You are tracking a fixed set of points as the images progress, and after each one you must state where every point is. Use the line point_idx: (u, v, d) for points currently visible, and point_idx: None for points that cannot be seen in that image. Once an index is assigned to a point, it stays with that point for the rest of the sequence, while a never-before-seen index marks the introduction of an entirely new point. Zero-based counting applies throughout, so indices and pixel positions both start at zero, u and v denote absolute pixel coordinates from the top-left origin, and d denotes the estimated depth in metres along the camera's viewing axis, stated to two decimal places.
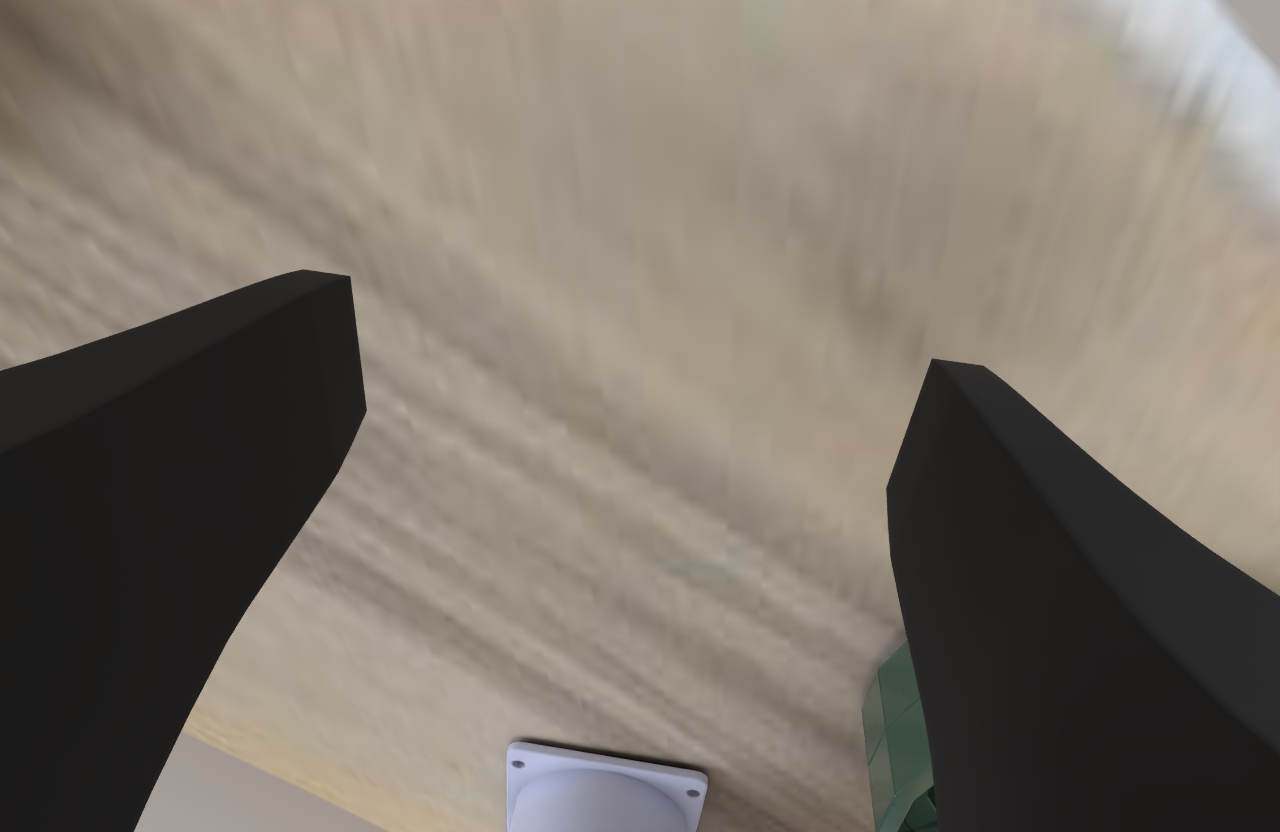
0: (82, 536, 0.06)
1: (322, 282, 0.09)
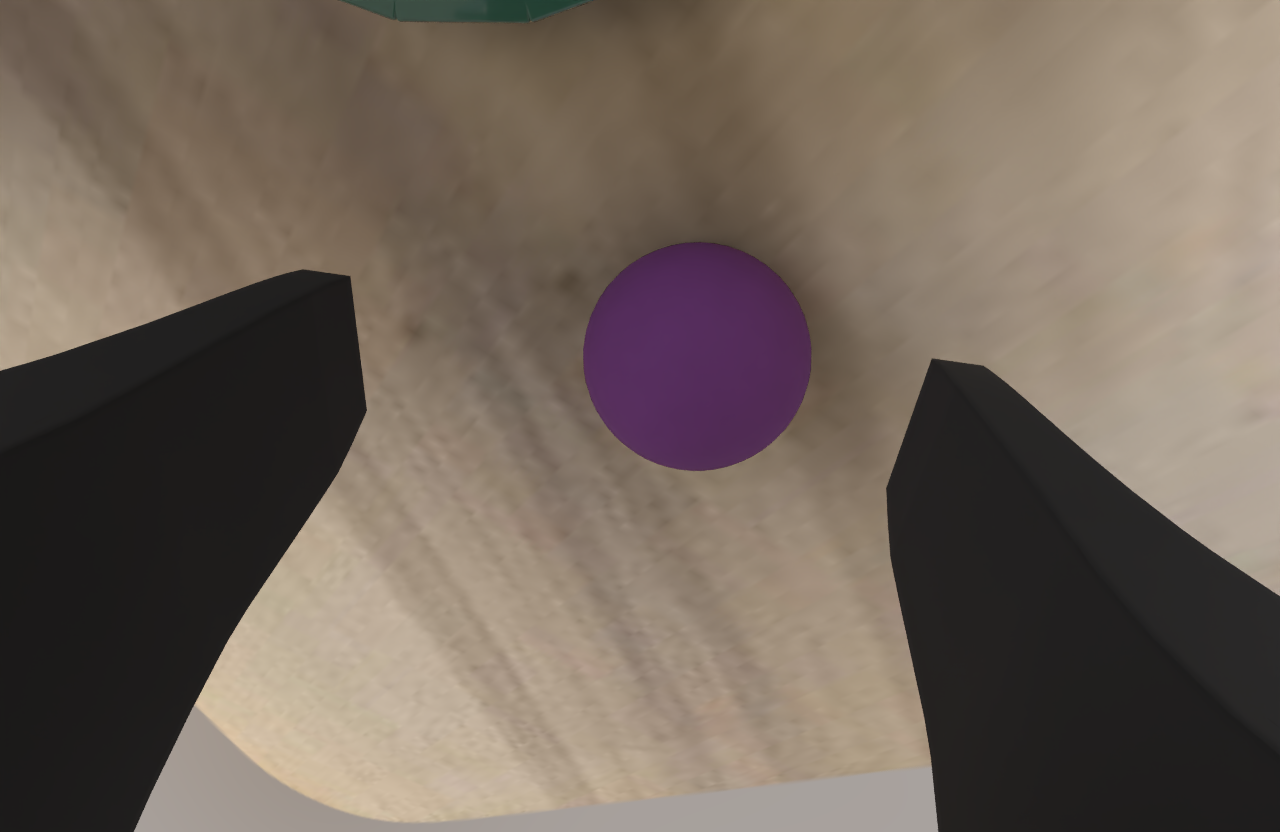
0: (83, 536, 0.06)
1: (322, 282, 0.09)
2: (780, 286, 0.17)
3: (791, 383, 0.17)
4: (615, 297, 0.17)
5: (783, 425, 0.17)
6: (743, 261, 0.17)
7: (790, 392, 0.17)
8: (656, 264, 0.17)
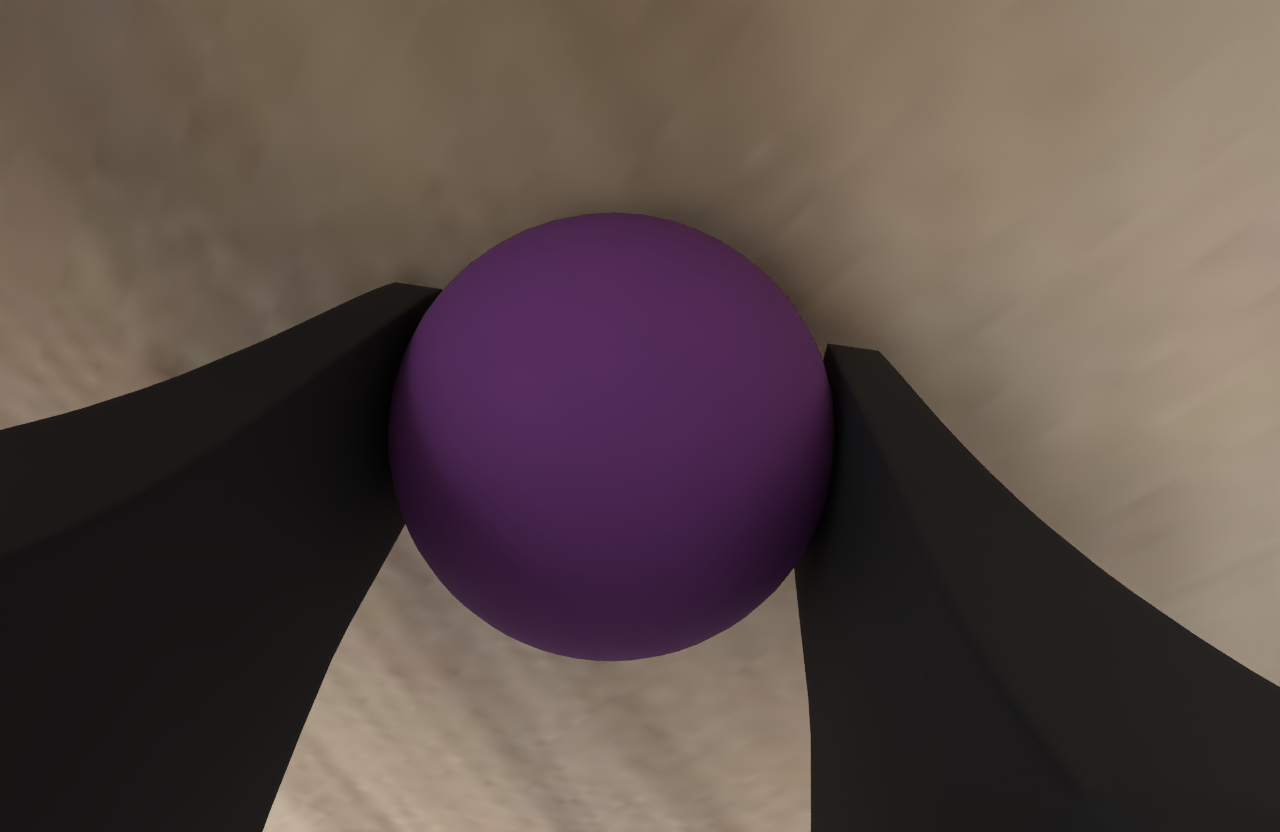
0: (228, 559, 0.06)
1: (419, 296, 0.09)
2: (773, 300, 0.08)
3: (796, 505, 0.08)
4: (432, 323, 0.08)
5: (780, 580, 0.09)
6: (696, 248, 0.08)
7: (795, 523, 0.08)
8: (515, 254, 0.08)
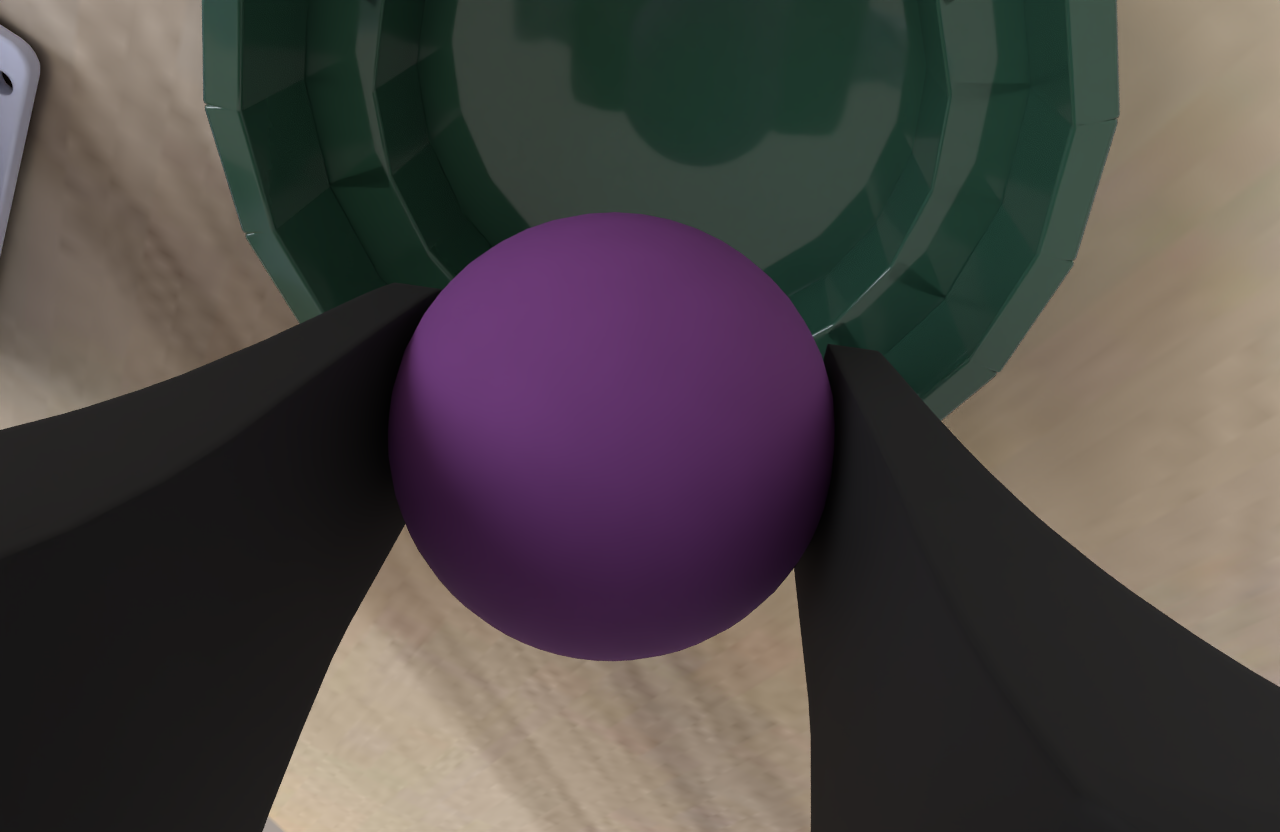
0: (228, 558, 0.06)
1: (419, 296, 0.09)
2: (774, 300, 0.08)
3: (796, 505, 0.08)
4: (432, 322, 0.08)
5: (781, 580, 0.09)
6: (697, 248, 0.08)
7: (795, 523, 0.08)
8: (515, 253, 0.08)
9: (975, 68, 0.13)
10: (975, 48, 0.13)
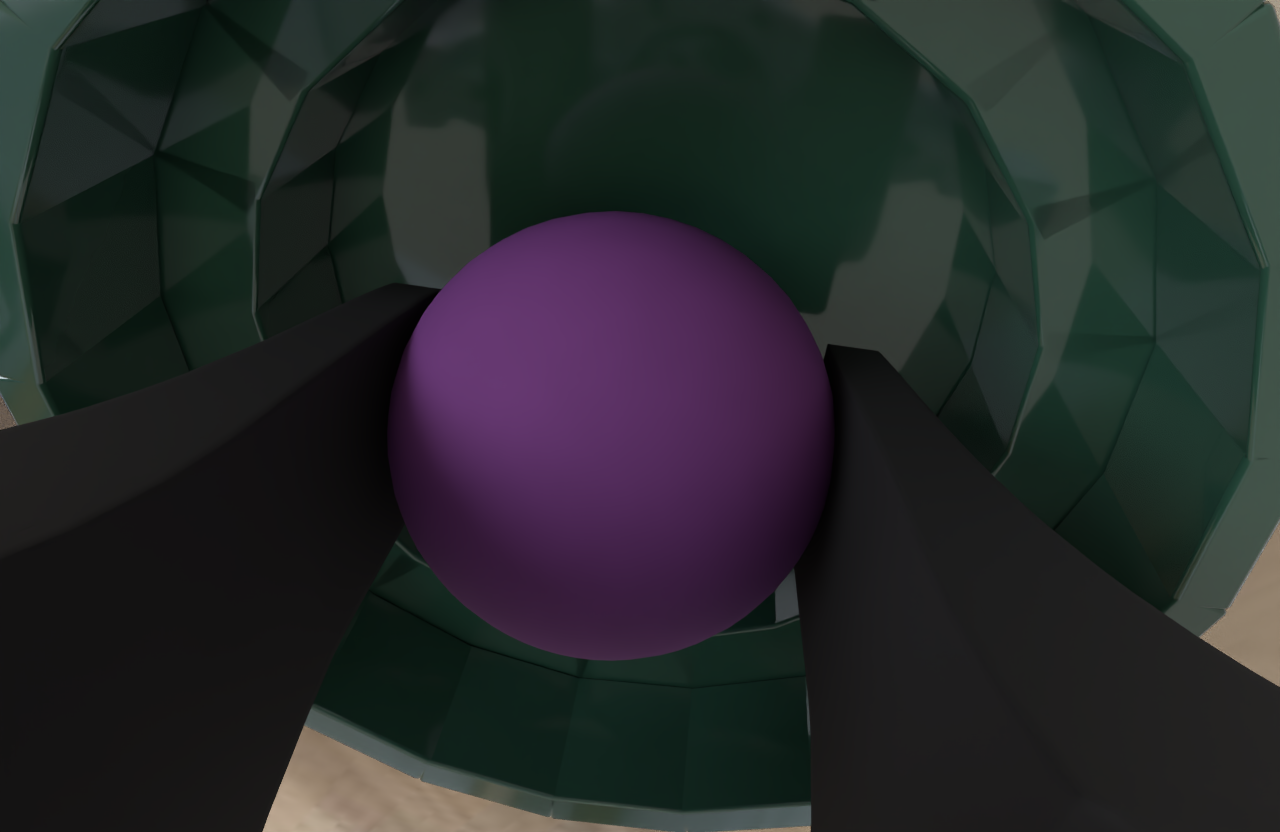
0: (228, 559, 0.06)
1: (419, 296, 0.09)
2: (773, 299, 0.08)
3: (796, 504, 0.08)
4: (431, 321, 0.08)
5: (780, 579, 0.09)
6: (696, 247, 0.08)
7: (795, 522, 0.08)
8: (514, 253, 0.08)
9: (1079, 316, 0.09)
10: (1081, 292, 0.09)
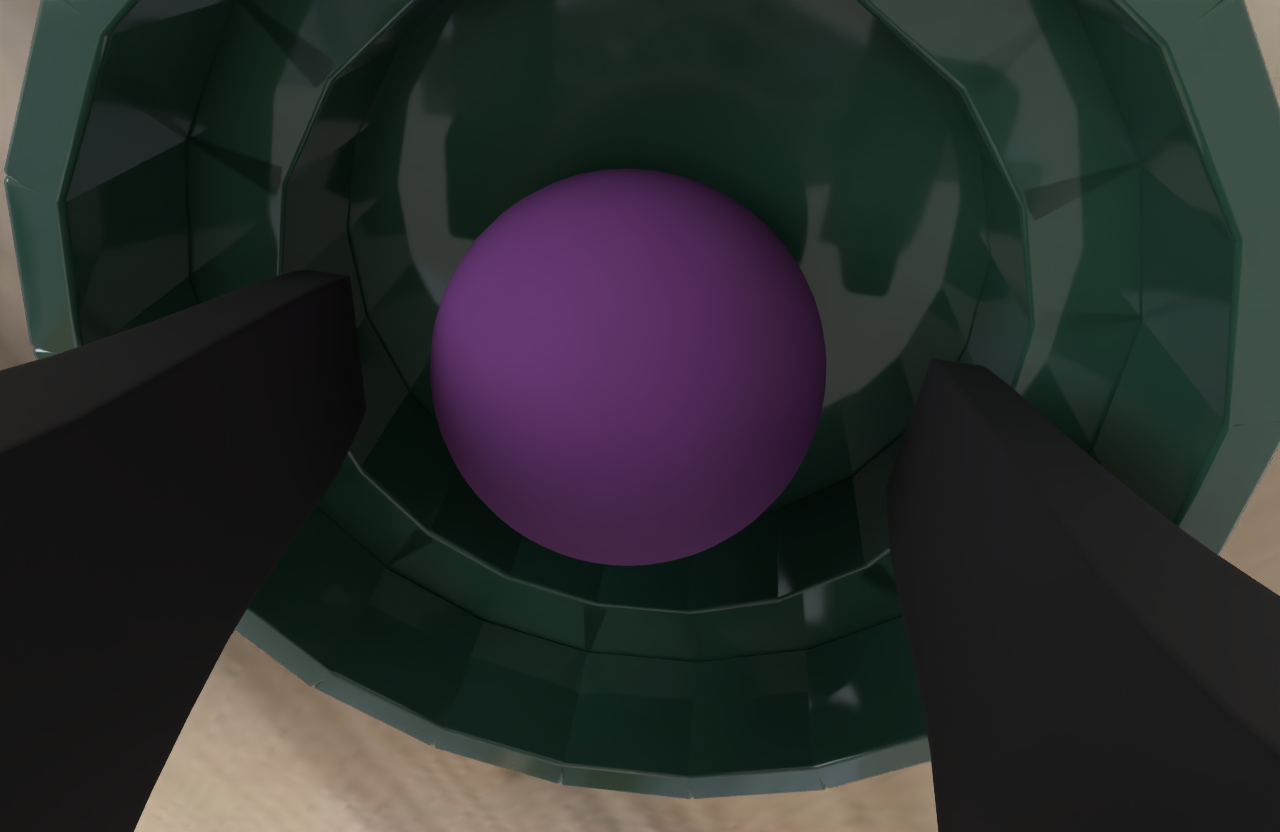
0: (83, 536, 0.06)
1: (322, 282, 0.09)
2: (770, 244, 0.09)
3: (787, 422, 0.09)
4: (470, 260, 0.09)
5: (774, 493, 0.10)
6: (703, 197, 0.09)
7: (786, 438, 0.09)
8: (544, 200, 0.09)
9: (1069, 295, 0.10)
10: (1071, 272, 0.10)
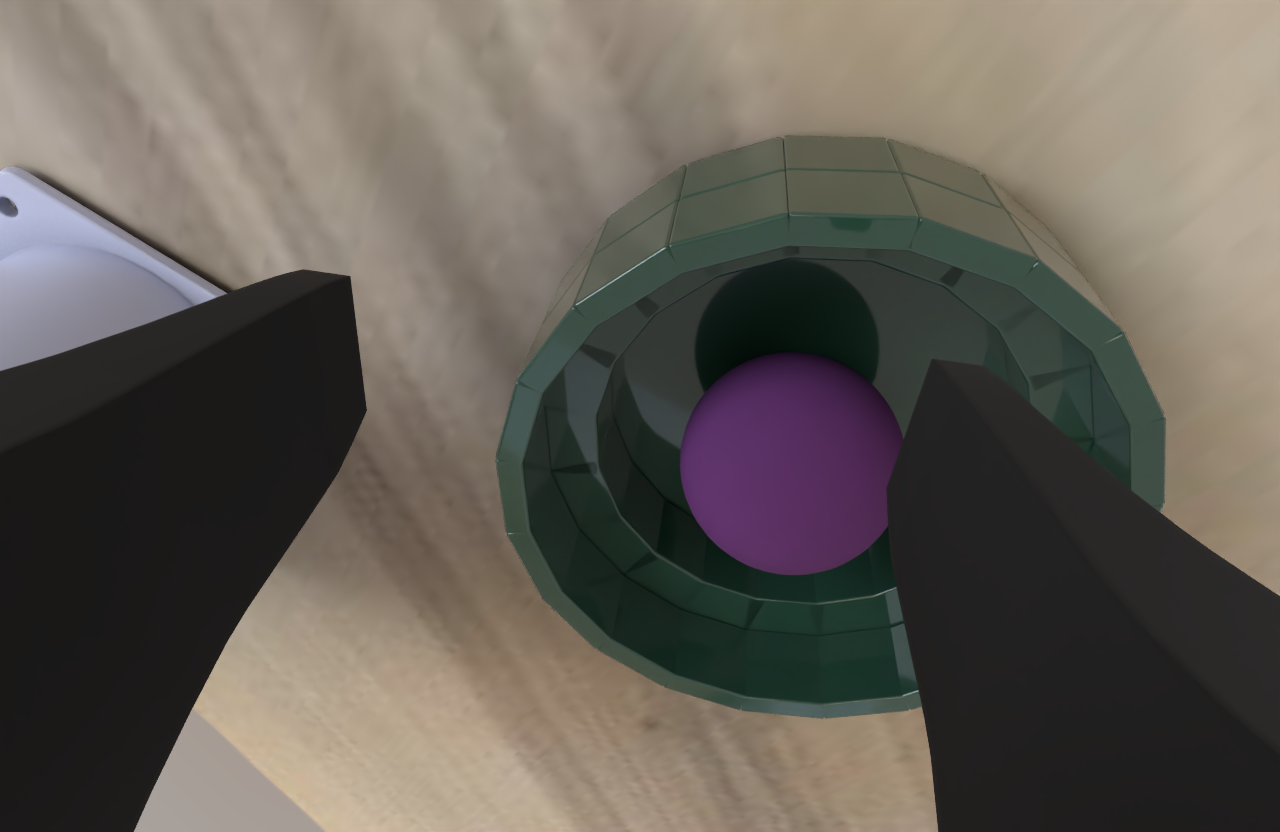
0: (83, 536, 0.06)
1: (322, 282, 0.09)
2: (879, 406, 0.17)
3: (882, 505, 0.17)
4: (715, 406, 0.17)
5: (872, 541, 0.17)
6: (843, 380, 0.17)
7: (881, 513, 0.17)
8: (757, 377, 0.17)
9: None
10: (1055, 416, 0.17)
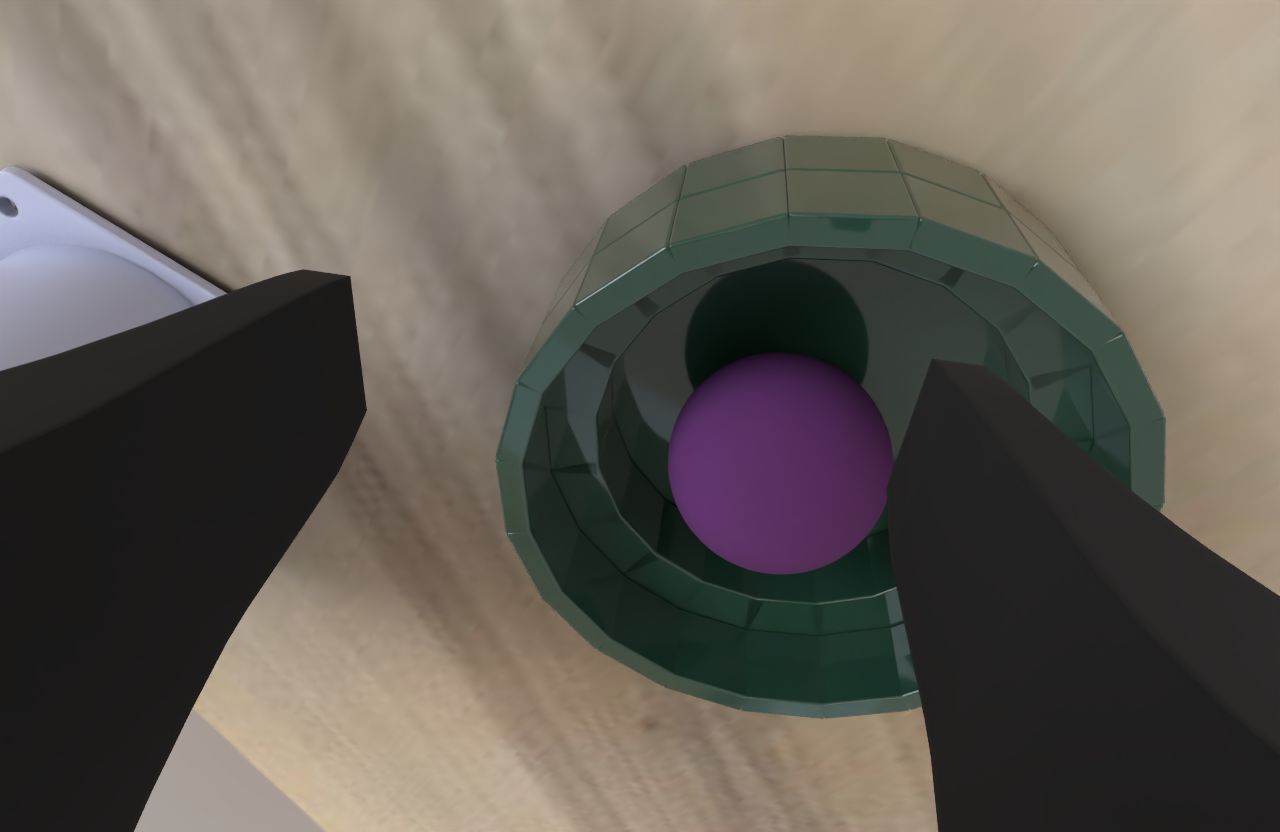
0: (83, 536, 0.06)
1: (322, 282, 0.09)
2: (864, 411, 0.17)
3: (859, 510, 0.17)
4: (701, 401, 0.18)
5: (850, 546, 0.17)
6: (829, 382, 0.17)
7: (858, 518, 0.17)
8: (743, 374, 0.17)
9: None
10: (1055, 416, 0.17)
